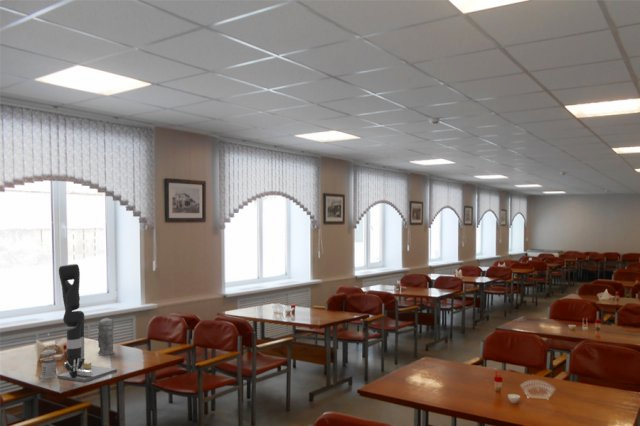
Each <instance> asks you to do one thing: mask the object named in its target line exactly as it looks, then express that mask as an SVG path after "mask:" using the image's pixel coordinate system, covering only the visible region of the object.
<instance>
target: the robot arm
mask: <svg viewBox="0 0 640 426" xmlns="http://www.w3.org/2000/svg"><path fill="white" fill-rule="evenodd" d="M80 273H81V272H80V267H79V265H78V263H72V264H70V263H69V264H64V265H61V266H59V268H58V276H59V280H60V285H61V290H62V291H61V292H62V293H61V294H62V299H63V305H64V311H65V312H64V313H63V314H64V315H63V318H62V319H63V323H64V324H65V325H66V326H67V327H70V328H68V329H67V331H66V357H67V358H66V361H65V362H64V363H62V366H63V367H64V368H65V369H66V370H67V372H69V371H71V377H72V378H76V377H77V370H78V369H80V368H82V365H84V363H85V361H86V358H85V313H84V311H82V310H78V309H79V308H80V301H81V300H80V278H81V276H80V275H81V274H80ZM70 280H71V281H72V280H73V283H72V284H71V283H70V282H69V281H70Z"/></svg>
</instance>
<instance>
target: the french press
mask: <svg viewBox="0 0 640 426" xmlns="http://www.w3.org/2000/svg"><path fill="white" fill-rule="evenodd" d="M46 336H47V337H50V336H51V333H49V332H48V333H47V334H46ZM56 353H57V350H54V349H50V348H48V349H46V350H44V351H42V352H41V353H40V354H41V355H42V356H45V357H44V358H43V359H41V364H40V365H41V366H40V367H41V374H40V376H39V378H40V379H48V378H53V377H54V378H55V377H57V375H59V373H57V360H56V357H48V356H50V355H54V354H56Z"/></svg>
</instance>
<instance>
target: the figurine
mask: <svg viewBox="0 0 640 426" xmlns="http://www.w3.org/2000/svg"><path fill="white" fill-rule="evenodd" d="M97 329H98V332H97V333H98V334H97V335H98V336H97V341H98V343H97V344H98V348H99V350H98V352H97V355H98V354H99V355H98V356H108V355H110V356H111V355H114V354H115V352H114V329H115V325H114V321H113V319H112V318H109V317H105V318H102V319H101V320H99V322H98V327H97Z"/></svg>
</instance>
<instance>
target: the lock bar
mask: <svg viewBox="0 0 640 426" xmlns="http://www.w3.org/2000/svg"><path fill="white" fill-rule="evenodd" d="M68 372H69V374H71V371H68ZM77 375H81V376H90V375H92V371H90V370H82V369H78V370H77Z"/></svg>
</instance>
